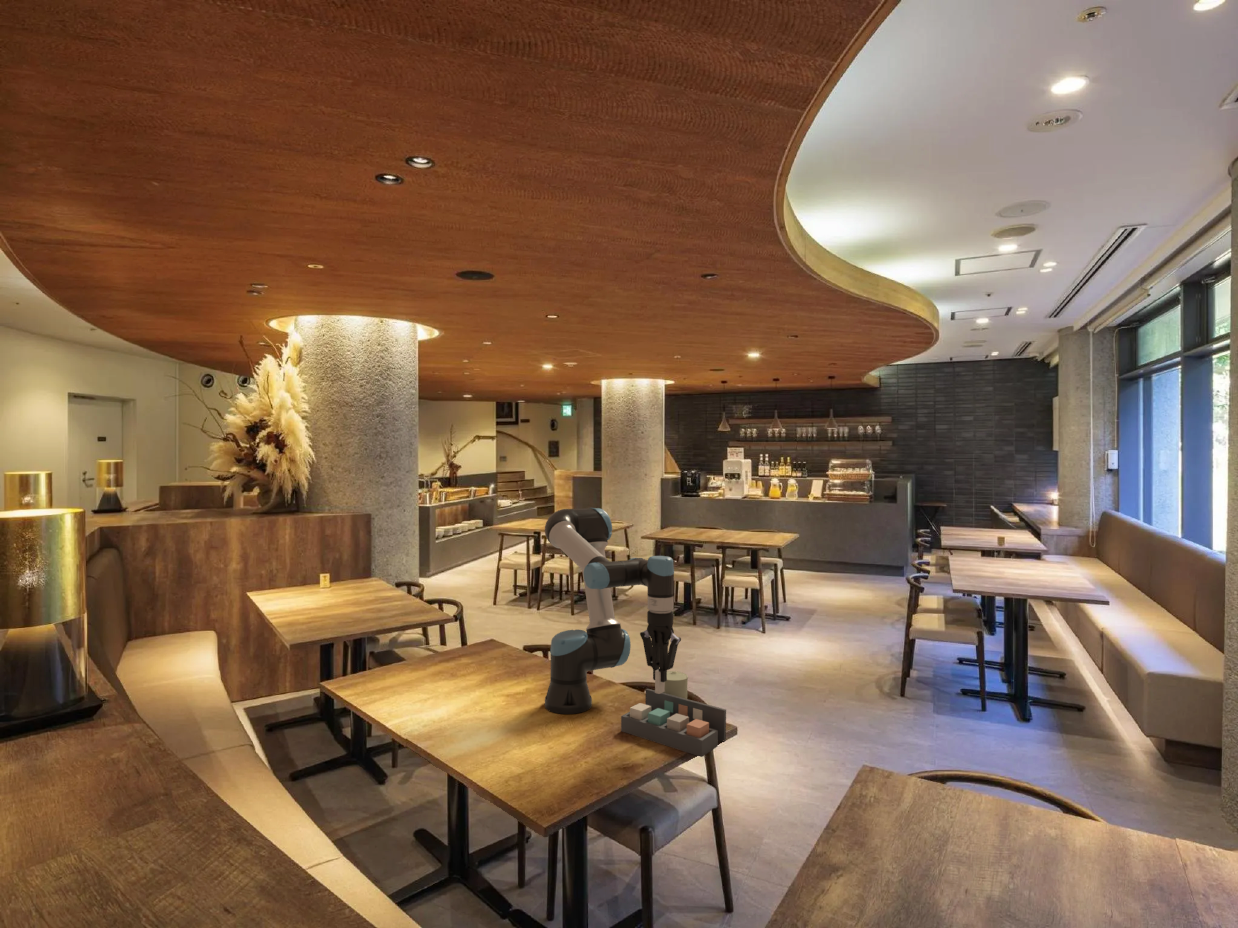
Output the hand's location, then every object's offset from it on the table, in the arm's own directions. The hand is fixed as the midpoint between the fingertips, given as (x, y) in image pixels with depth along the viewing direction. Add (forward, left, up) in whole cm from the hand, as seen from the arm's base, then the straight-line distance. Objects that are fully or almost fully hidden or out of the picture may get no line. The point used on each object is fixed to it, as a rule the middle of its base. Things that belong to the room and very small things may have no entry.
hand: (659, 691), depth 197 cm
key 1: (-7, 0, -10) cm, 12 cm away
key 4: (+13, 0, -10) cm, 16 cm away
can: (-7, +18, -13) cm, 23 cm away
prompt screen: (+3, +9, -13) cm, 16 cm away
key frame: (+3, 0, -13) cm, 13 cm away
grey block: (+6, 0, -10) cm, 12 cm away
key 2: (0, 0, -10) cm, 10 cm away
